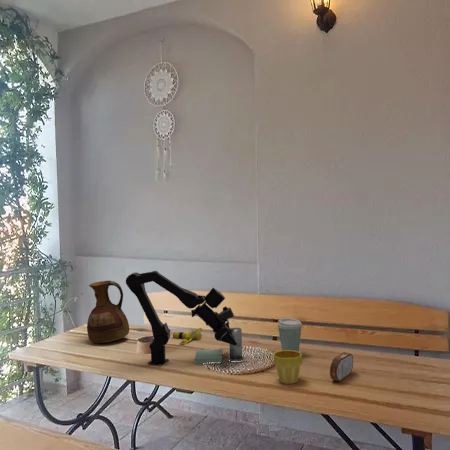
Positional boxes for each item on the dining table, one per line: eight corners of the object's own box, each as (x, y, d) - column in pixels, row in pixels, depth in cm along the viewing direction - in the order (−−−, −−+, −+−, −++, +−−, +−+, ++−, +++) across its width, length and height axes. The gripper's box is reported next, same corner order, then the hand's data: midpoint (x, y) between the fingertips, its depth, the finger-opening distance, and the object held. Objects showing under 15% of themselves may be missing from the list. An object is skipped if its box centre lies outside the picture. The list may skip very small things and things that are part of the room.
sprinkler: (179, 325, 230) (206, 325, 225) (180, 332, 231) (207, 333, 226) (162, 340, 212) (191, 341, 207) (163, 348, 213) (192, 349, 208)
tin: (347, 371, 169) (346, 349, 169) (355, 372, 167) (354, 350, 167) (329, 383, 158) (328, 359, 157) (337, 385, 156) (336, 361, 155)
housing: (240, 363, 181) (239, 331, 181) (226, 361, 183) (225, 330, 183) (245, 358, 187) (245, 327, 187) (231, 357, 189) (230, 326, 189)
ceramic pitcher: (87, 337, 227) (85, 279, 226) (127, 333, 233) (125, 276, 233) (87, 348, 208) (85, 284, 208) (131, 343, 214) (129, 281, 214)
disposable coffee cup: (306, 352, 193) (305, 318, 192) (299, 360, 183) (298, 324, 182) (282, 350, 197) (281, 316, 197) (274, 357, 187) (273, 322, 187)
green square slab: (222, 363, 181) (221, 357, 181) (195, 364, 181) (194, 358, 181) (222, 355, 192) (221, 349, 192) (196, 356, 192) (196, 350, 192)
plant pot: (269, 378, 164) (268, 351, 164) (293, 374, 167) (293, 348, 167) (282, 388, 154) (281, 360, 154) (308, 383, 158) (307, 355, 158)
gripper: (221, 306, 175) (250, 333, 176) (221, 297, 194) (248, 322, 194) (202, 327, 175) (231, 353, 176) (204, 316, 194) (230, 340, 194)
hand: (236, 341), depth 185 cm, fingers open, 9 cm apart
